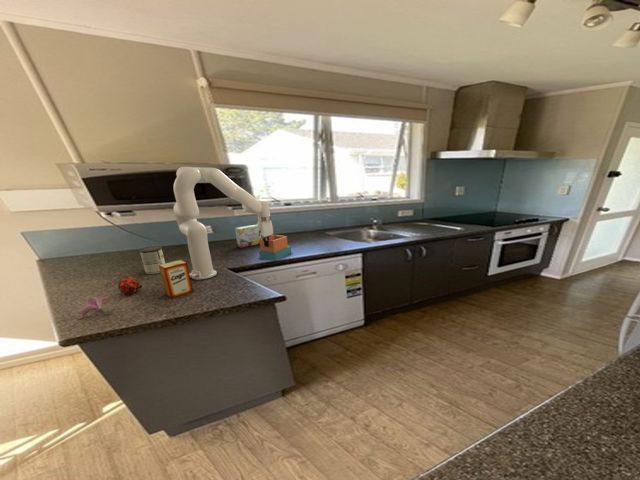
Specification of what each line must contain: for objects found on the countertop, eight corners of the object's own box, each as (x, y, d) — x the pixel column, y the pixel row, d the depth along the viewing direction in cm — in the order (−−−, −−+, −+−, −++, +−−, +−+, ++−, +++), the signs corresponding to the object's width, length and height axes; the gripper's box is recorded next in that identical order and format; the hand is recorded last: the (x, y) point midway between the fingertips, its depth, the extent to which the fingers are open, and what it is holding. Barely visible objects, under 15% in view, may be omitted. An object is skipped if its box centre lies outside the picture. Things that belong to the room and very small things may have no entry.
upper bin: (274, 255, 189) (273, 240, 186) (261, 253, 193) (259, 239, 190) (288, 250, 202) (286, 236, 199) (275, 248, 206) (274, 234, 202)
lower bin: (276, 260, 189) (275, 252, 188) (259, 258, 194) (258, 250, 192) (291, 253, 204) (290, 246, 202) (276, 251, 208) (275, 244, 207)
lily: (118, 307, 131) (101, 291, 127) (124, 304, 123) (105, 287, 120) (88, 326, 122) (68, 309, 119) (92, 325, 115) (71, 307, 111)
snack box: (241, 248, 215) (238, 228, 210) (237, 246, 218) (234, 227, 213) (266, 242, 231) (264, 224, 226) (263, 241, 234) (260, 223, 230)
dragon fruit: (131, 290, 148) (137, 301, 141) (111, 286, 141) (116, 297, 134) (141, 276, 149) (146, 285, 142) (121, 271, 142) (126, 281, 135)
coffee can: (144, 270, 170) (137, 248, 166) (165, 266, 177) (159, 244, 173) (146, 275, 163) (140, 252, 159) (168, 271, 170) (162, 248, 166)
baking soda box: (171, 298, 137) (163, 267, 132) (166, 294, 141) (158, 264, 136) (193, 291, 144) (186, 261, 139) (187, 288, 148) (180, 259, 143)
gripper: (268, 216, 192) (270, 242, 198) (250, 220, 179) (254, 248, 184) (277, 217, 190) (279, 244, 195) (260, 221, 176) (263, 249, 182)
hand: (267, 246), depth 190 cm, fingers closed on upper bin, 1 cm apart
